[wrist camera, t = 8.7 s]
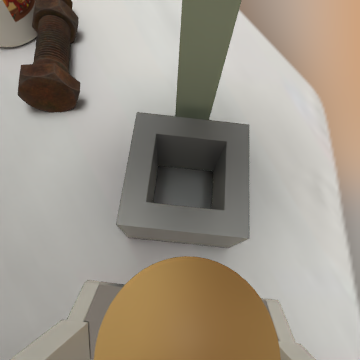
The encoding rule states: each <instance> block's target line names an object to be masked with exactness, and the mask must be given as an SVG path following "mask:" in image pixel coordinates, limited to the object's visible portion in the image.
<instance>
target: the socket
mask: <svg viewBox="0 0 360 360" xmlns="http://www.w3.org/2000/svg"><path fill="white" fill-rule="evenodd" d="M158 165H159V166H168V167H178V168H187V169H196V170H205V171H213V186H212V205H211V209H205V208H196V207H187V206H177V205H168V204H158V203H153V199H154V192H155V185H156V177H157V170H158ZM116 225H117V226H118V227H119V228H120V229H121V230H122V231H123V232H124V234H125V235H126V236H127V237H128V238H138V239H148V240H157V241H167V242H177V243H186V244H196V245H205V246H215V247H225V248H230V247H232V246H234V245H236V244H238V243H241V242H243V241H245V240H247V239H249V125H247V124H239V123H230V122H221V121H212V120H203V119H194V118H185V117H176V116H167V115H158V114H149V113H140V112H137V114H136V120H135V125H134V130H133V136H132V141H131V146H130V152H129V157H128V163H127V168H126V173H125V179H124V184H123V189H122V195H121V200H120V206H119V211H118V216H117V222H116Z"/></svg>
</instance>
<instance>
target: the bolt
mask: <svg viewBox="0 0 360 360" xmlns="http://www.w3.org/2000/svg"><path fill="white" fill-rule="evenodd" d="M32 27H33V28H34V30H35V31H36V32H37V39H36V50H35V56H34V63H33V64H30V65H21V69H20V77H19V86H18V96H19V97H20V98H21V99H22V100H23V101H25V102H26V103H27V104H29V105H30V106H32V107H34V108H36V109H39V110H43V111H47V112H65V111H68V110H71V109H74V107H75V105H76V103H77V100H78V97H79V93H80V82H79V81H77V80H76V79H75V78H73V77H72V76H71V75H70V74H69V72H68V71H69V55H70V43H72V42H74V40H75V36H76V32H77V28H78V17H77V15H76V14H75V13H74V11H73V10H72V1H71V0H35V6H34V13H33V22H32Z"/></svg>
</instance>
